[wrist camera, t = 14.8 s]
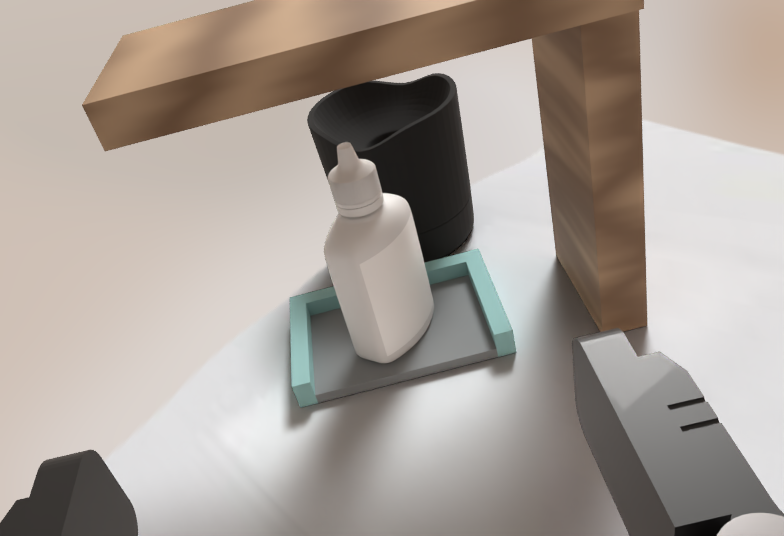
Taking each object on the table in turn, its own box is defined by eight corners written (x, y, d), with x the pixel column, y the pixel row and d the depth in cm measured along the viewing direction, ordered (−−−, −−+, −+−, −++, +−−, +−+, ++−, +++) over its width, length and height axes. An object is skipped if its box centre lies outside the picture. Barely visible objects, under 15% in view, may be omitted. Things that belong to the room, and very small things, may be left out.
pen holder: (430, 184, 56) (402, 59, 51) (508, 228, 49) (487, 88, 43) (325, 239, 53) (283, 112, 47) (392, 294, 46) (353, 153, 40)
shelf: (246, 435, 39) (81, 105, 28) (251, 329, 46) (122, 35, 36) (651, 331, 38) (642, -45, 28) (591, 241, 46) (565, -84, 35)
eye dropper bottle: (458, 328, 41) (416, 136, 34) (371, 376, 40) (309, 185, 33) (420, 293, 44) (374, 111, 38) (338, 335, 43) (275, 154, 36)
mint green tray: (300, 407, 40) (291, 386, 39) (297, 317, 46) (289, 297, 45) (516, 352, 39) (512, 330, 39) (482, 269, 46) (478, 248, 45)
